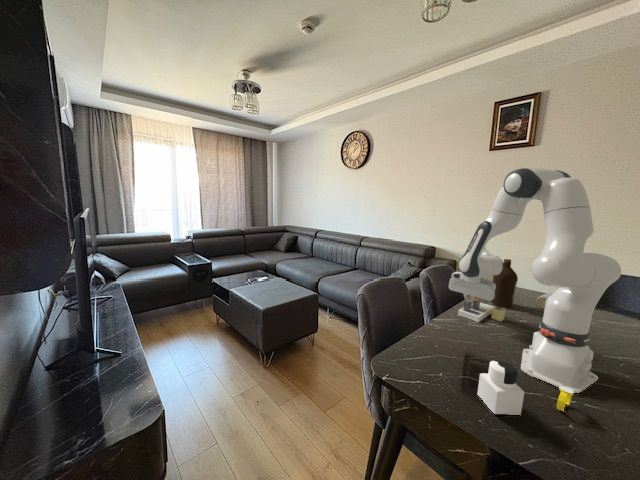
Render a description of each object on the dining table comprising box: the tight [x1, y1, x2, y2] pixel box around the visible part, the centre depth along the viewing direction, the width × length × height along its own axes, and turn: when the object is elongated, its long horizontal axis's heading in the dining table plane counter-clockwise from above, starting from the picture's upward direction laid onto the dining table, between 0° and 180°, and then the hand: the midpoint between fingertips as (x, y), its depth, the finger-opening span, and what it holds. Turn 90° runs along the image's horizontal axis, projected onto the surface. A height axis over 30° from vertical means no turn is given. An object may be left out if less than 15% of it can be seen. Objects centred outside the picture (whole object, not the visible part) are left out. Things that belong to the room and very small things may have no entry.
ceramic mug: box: [535, 292, 553, 310], centre depth 131 cm, size 11×8×8 cm
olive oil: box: [490, 258, 518, 309], centre depth 136 cm, size 11×11×25 cm
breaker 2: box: [473, 297, 481, 309], centre depth 124 cm, size 3×2×5 cm, turn 128°
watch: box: [556, 386, 575, 413], centre depth 67 cm, size 6×3×6 cm, turn 122°
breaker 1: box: [463, 300, 472, 311], centre depth 123 cm, size 3×2×4 cm, turn 128°
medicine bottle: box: [476, 359, 525, 416], centre depth 67 cm, size 7×7×12 cm
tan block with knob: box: [490, 306, 506, 322], centre depth 120 cm, size 4×4×6 cm
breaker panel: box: [457, 301, 495, 323], centre depth 125 cm, size 20×9×3 cm, turn 128°
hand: (469, 303), depth 127 cm, fingers closed
